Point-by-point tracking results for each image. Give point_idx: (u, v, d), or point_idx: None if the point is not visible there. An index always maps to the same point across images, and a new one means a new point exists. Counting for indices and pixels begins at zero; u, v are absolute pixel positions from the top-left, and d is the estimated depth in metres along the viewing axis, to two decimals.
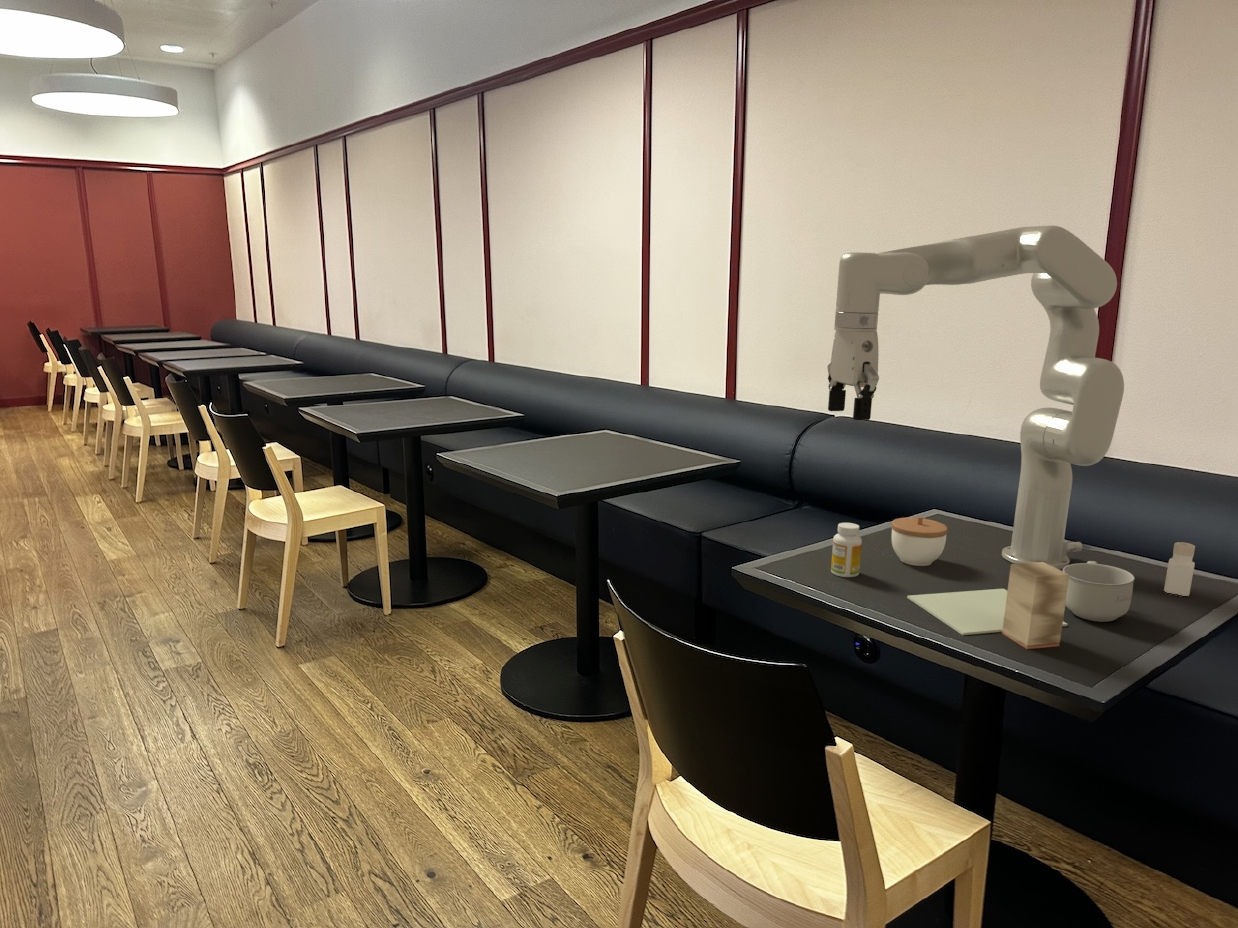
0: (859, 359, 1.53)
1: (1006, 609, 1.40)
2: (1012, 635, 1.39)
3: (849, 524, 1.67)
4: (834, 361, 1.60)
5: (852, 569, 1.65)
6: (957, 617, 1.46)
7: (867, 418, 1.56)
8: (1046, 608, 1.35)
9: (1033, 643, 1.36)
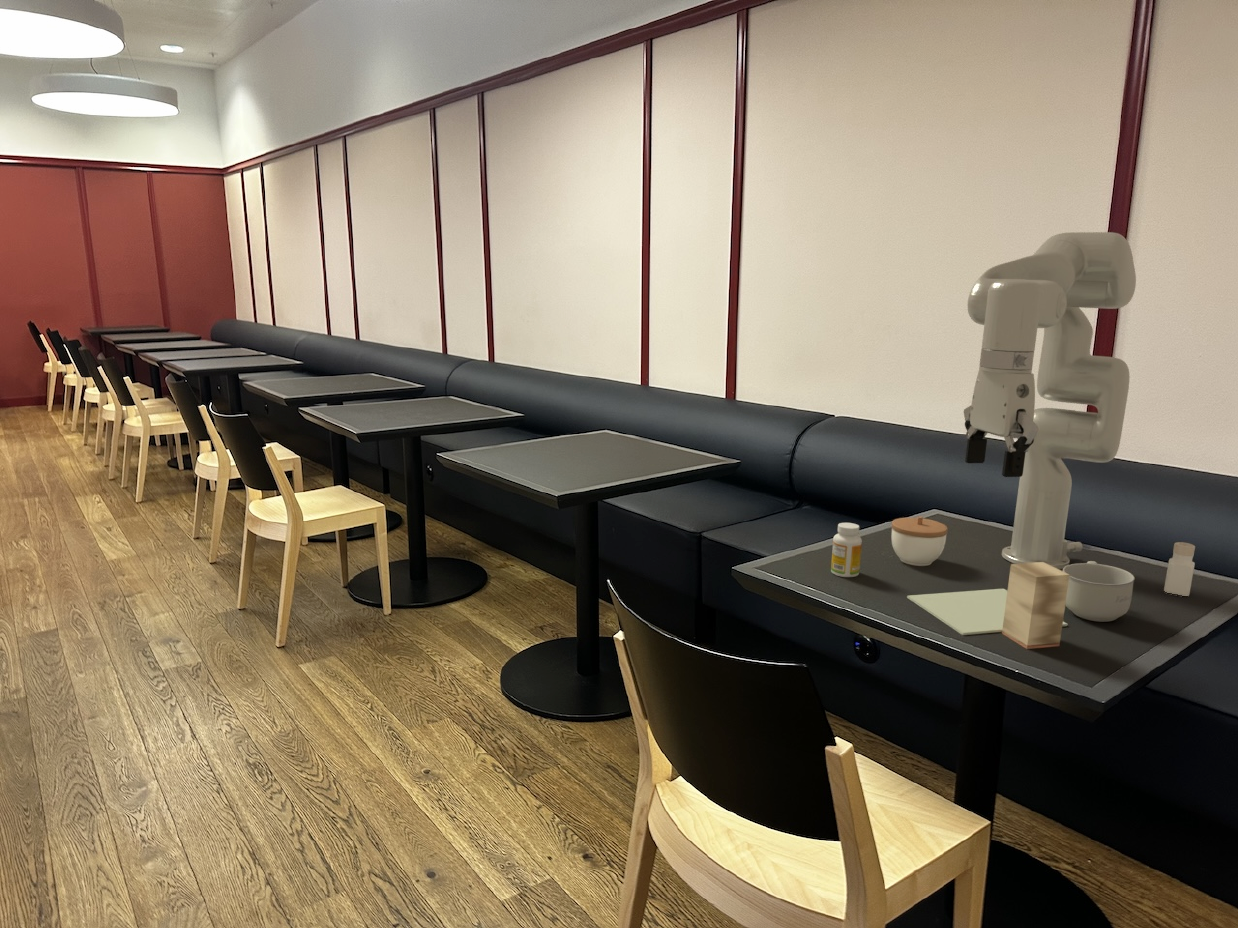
0: (1012, 406, 1.30)
1: (1006, 609, 1.40)
2: (1012, 635, 1.39)
3: (849, 524, 1.67)
4: (977, 406, 1.37)
5: (852, 569, 1.65)
6: (957, 617, 1.46)
7: (1019, 475, 1.32)
8: (1046, 608, 1.35)
9: (1033, 643, 1.36)
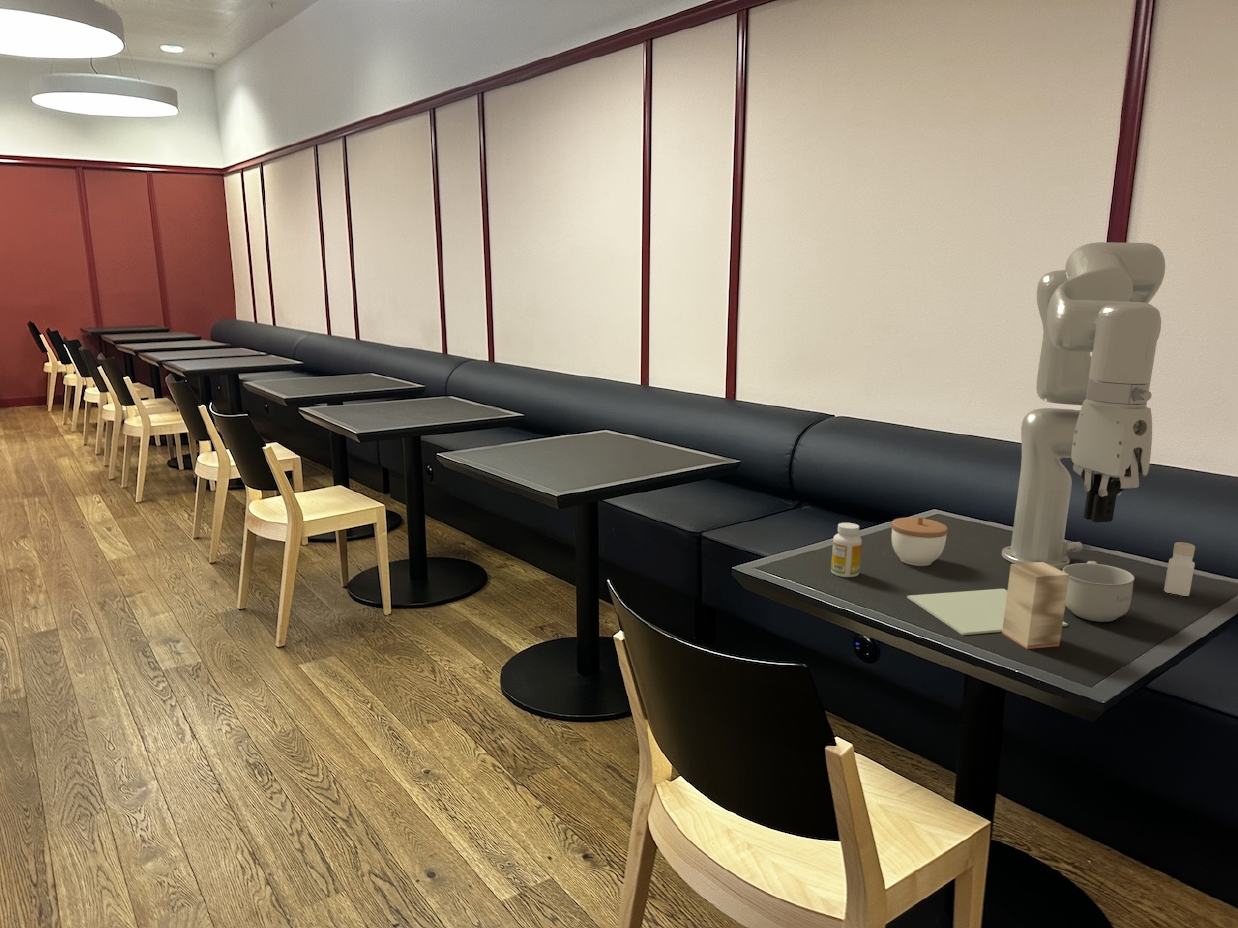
0: (1129, 444, 1.17)
1: (1006, 609, 1.40)
2: (1012, 635, 1.39)
3: (849, 524, 1.67)
4: (1082, 442, 1.24)
5: (852, 569, 1.65)
6: (957, 617, 1.46)
7: (1109, 519, 1.24)
8: (1046, 608, 1.35)
9: (1033, 643, 1.36)
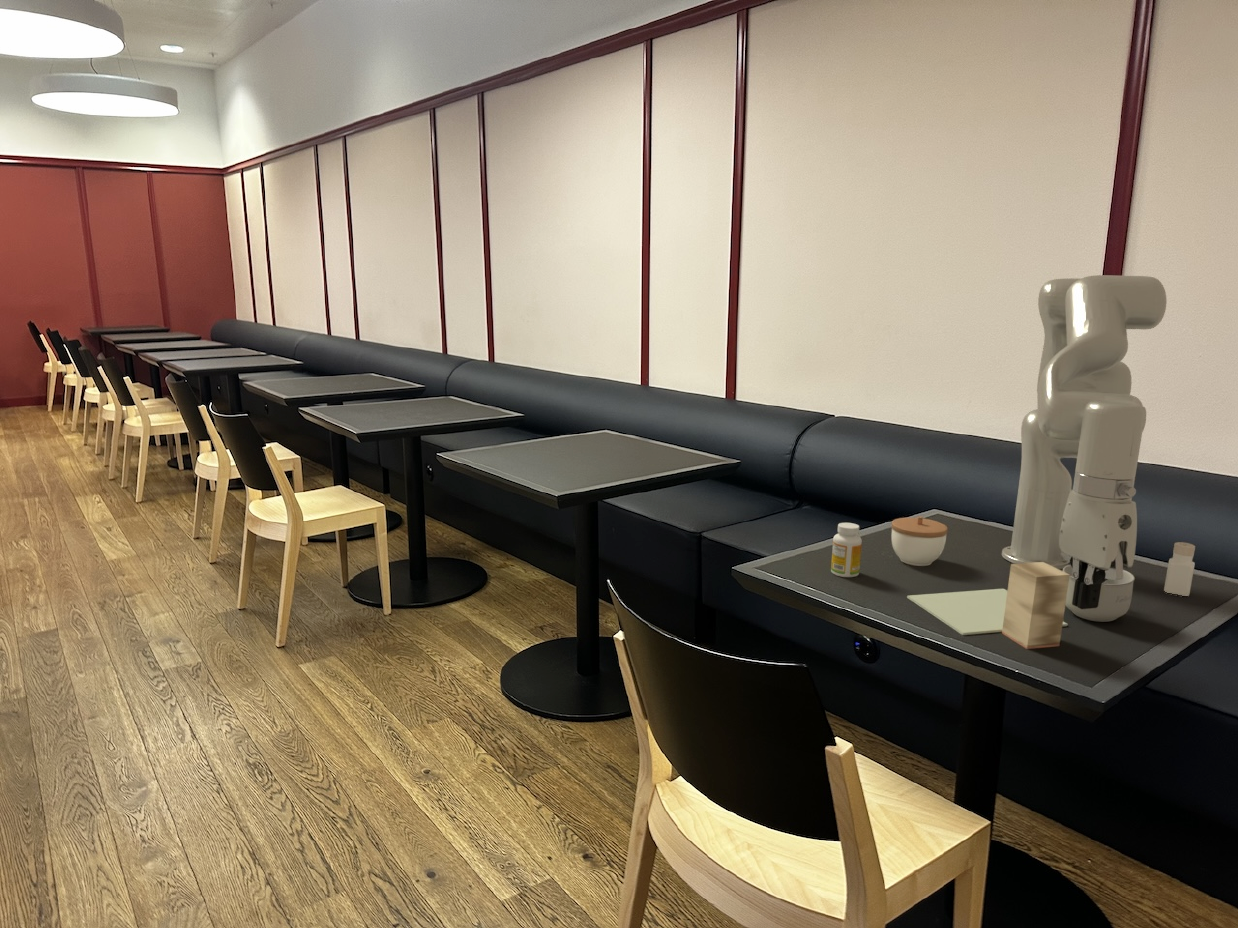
0: (1114, 538, 1.20)
1: (1006, 609, 1.40)
2: (1012, 635, 1.39)
3: (849, 524, 1.67)
4: (1069, 531, 1.27)
5: (852, 569, 1.65)
6: (957, 617, 1.46)
7: (1094, 606, 1.27)
8: (1046, 608, 1.35)
9: (1033, 643, 1.36)
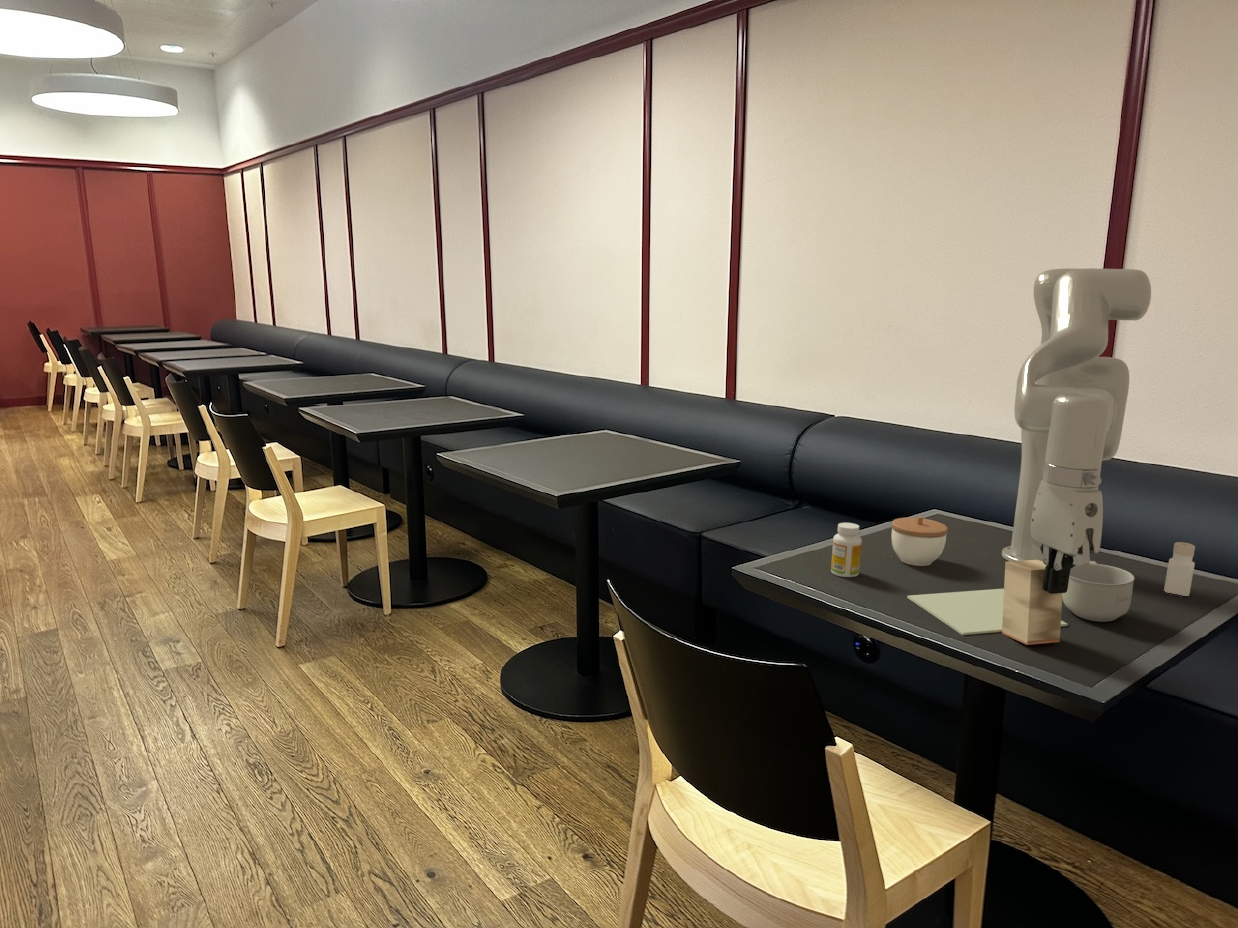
0: (1081, 525, 1.26)
1: (1004, 608, 1.41)
2: (1012, 634, 1.39)
3: (849, 524, 1.67)
4: (1039, 519, 1.33)
5: (852, 569, 1.65)
6: (957, 617, 1.46)
7: (1064, 591, 1.33)
8: (1043, 602, 1.35)
9: (1033, 639, 1.36)
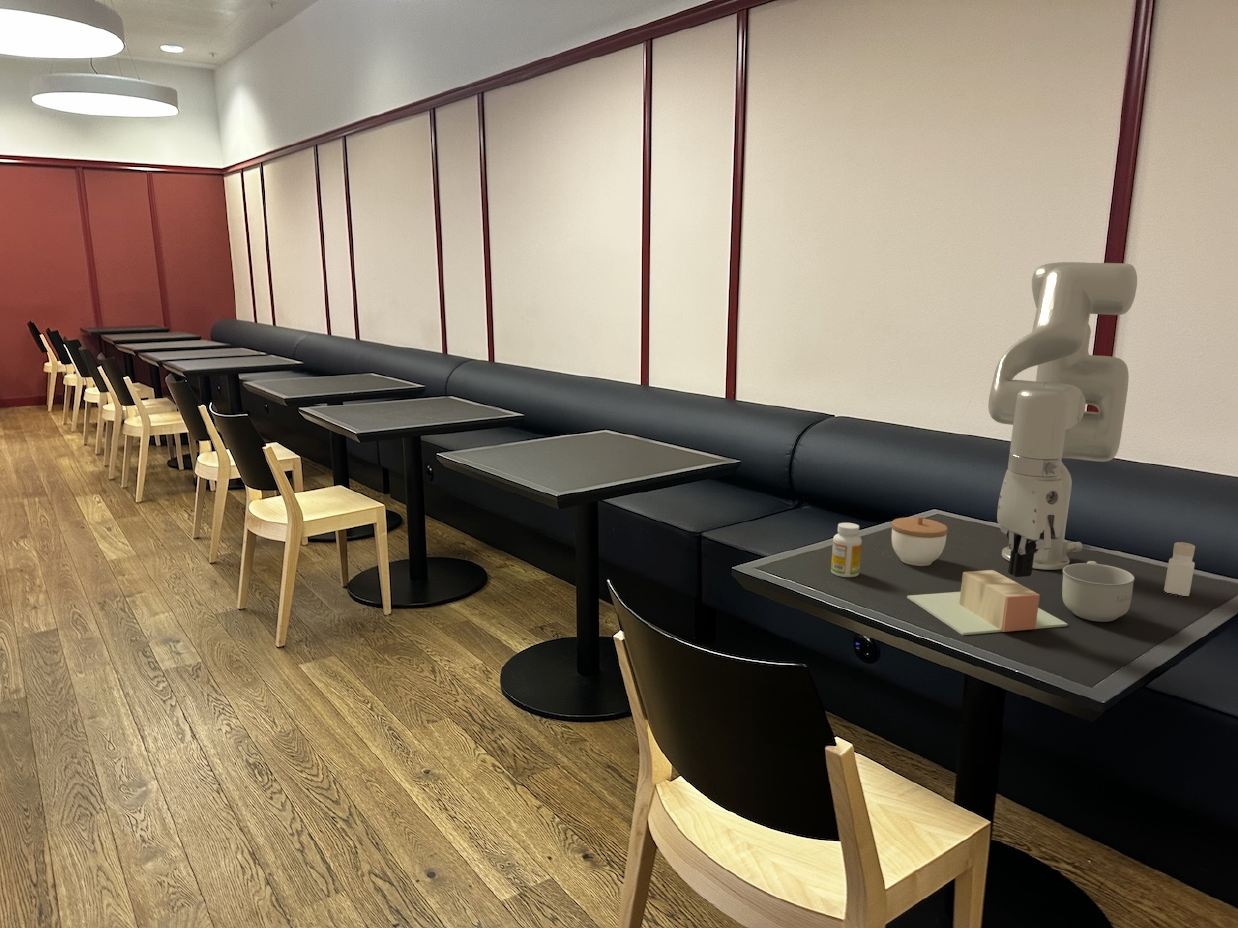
0: (1042, 512, 1.34)
1: (987, 619, 1.45)
2: (1003, 616, 1.41)
3: (849, 524, 1.67)
4: (1005, 506, 1.41)
5: (852, 569, 1.65)
6: (957, 617, 1.46)
7: (1028, 574, 1.41)
8: (995, 581, 1.47)
9: (1010, 594, 1.41)
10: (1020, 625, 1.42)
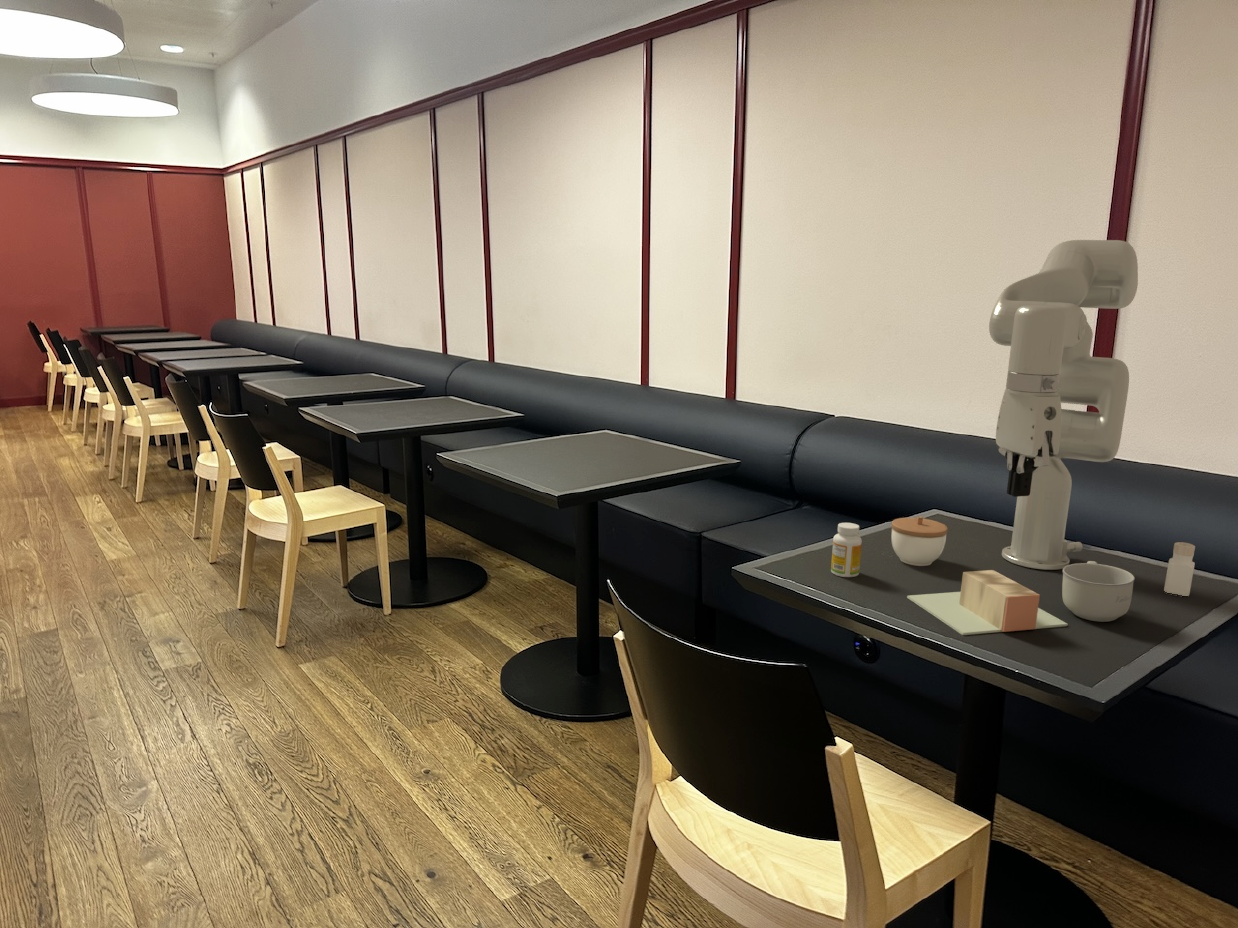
0: (1040, 428, 1.34)
1: (987, 619, 1.45)
2: (1003, 616, 1.41)
3: (849, 524, 1.67)
4: (1003, 426, 1.41)
5: (852, 569, 1.65)
6: (957, 617, 1.46)
7: (1026, 494, 1.41)
8: (995, 581, 1.47)
9: (1010, 594, 1.41)
10: (1020, 625, 1.42)
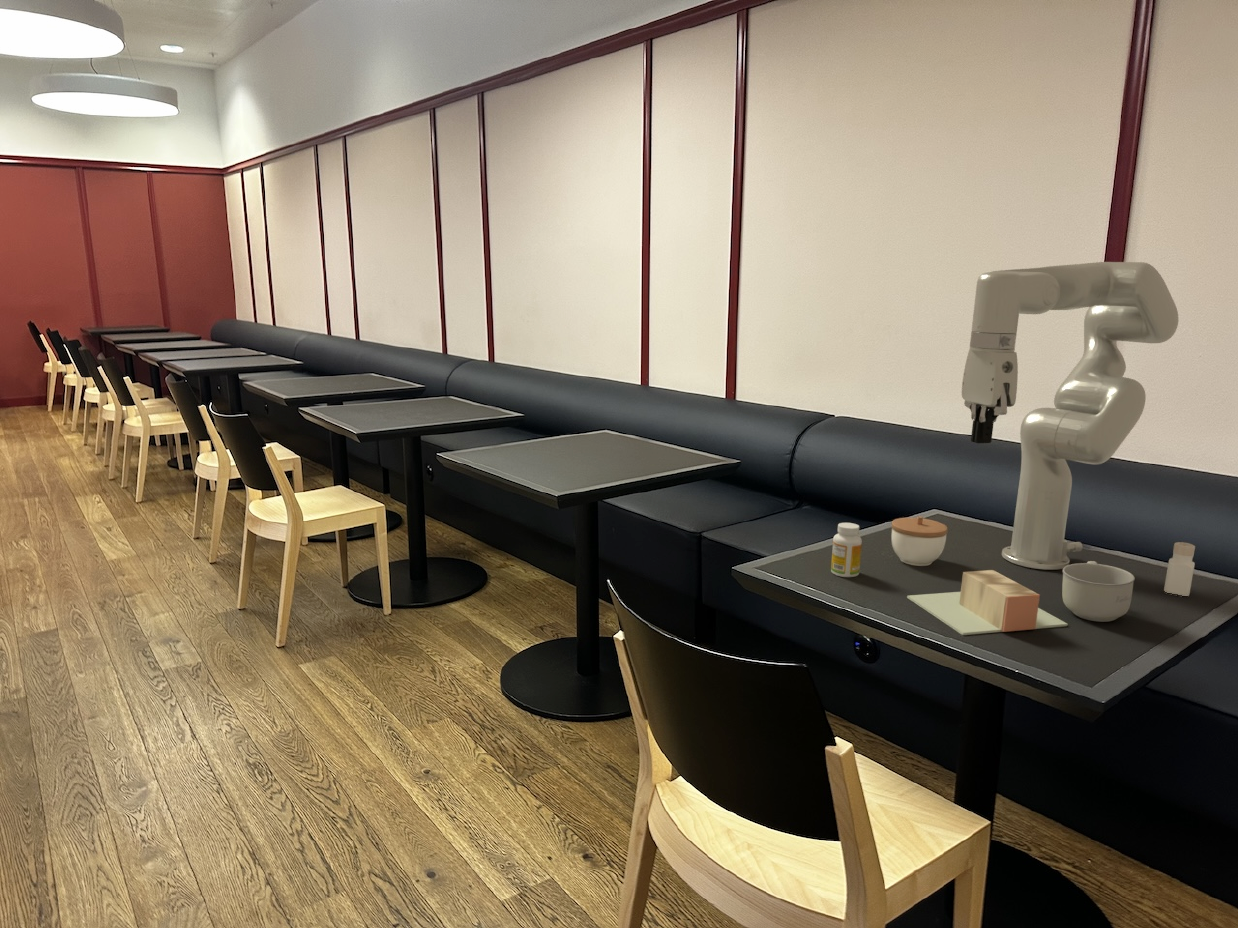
0: (999, 380, 1.52)
1: (987, 619, 1.45)
2: (1003, 616, 1.41)
3: (849, 524, 1.67)
4: (968, 381, 1.59)
5: (852, 569, 1.65)
6: (957, 617, 1.46)
7: (988, 441, 1.59)
8: (995, 581, 1.47)
9: (1010, 594, 1.41)
10: (1020, 625, 1.42)
